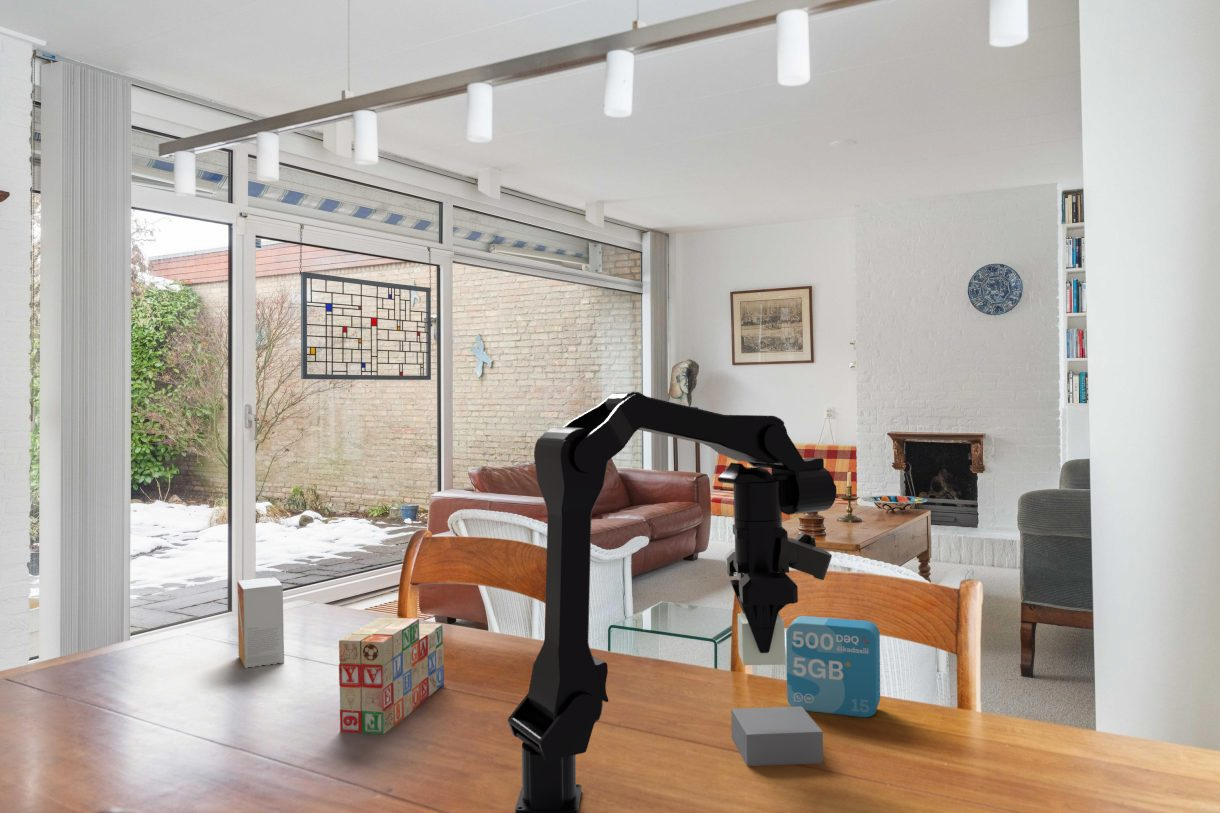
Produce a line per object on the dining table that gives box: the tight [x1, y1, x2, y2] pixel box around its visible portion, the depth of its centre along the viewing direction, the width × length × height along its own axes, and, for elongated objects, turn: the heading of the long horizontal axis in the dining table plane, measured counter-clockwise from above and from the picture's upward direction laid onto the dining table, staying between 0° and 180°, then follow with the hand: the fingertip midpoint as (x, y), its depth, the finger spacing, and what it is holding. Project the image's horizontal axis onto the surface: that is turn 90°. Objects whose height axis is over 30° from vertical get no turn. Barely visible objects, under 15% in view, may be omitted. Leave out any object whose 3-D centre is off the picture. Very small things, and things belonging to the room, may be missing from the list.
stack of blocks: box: [338, 617, 445, 735], centre depth 130 cm, size 21×6×12 cm, turn 169°
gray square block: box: [730, 706, 824, 767], centre depth 112 cm, size 9×9×4 cm
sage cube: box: [737, 612, 786, 666], centre depth 112 cm, size 5×5×5 cm
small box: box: [237, 576, 285, 669], centre depth 154 cm, size 8×6×13 cm
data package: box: [785, 615, 881, 718], centre depth 127 cm, size 12×4×12 cm, turn 68°
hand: (761, 646), depth 112 cm, fingers closed on sage cube, 5 cm apart
